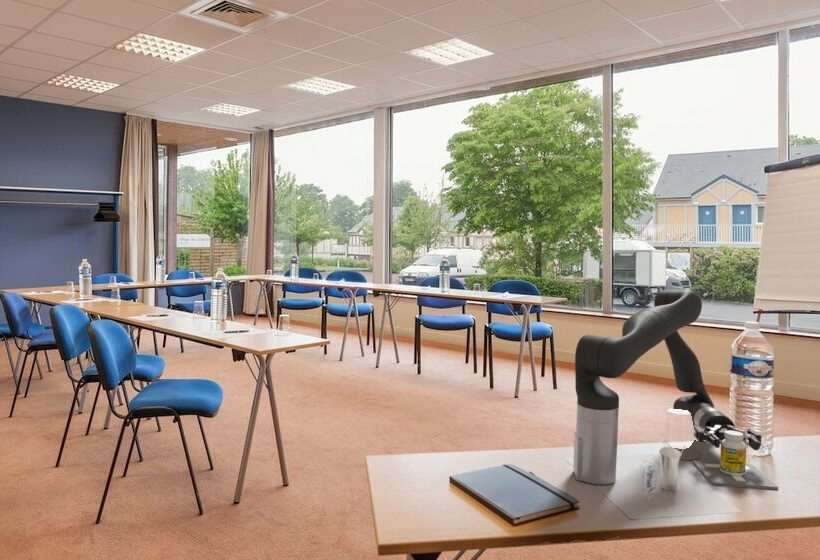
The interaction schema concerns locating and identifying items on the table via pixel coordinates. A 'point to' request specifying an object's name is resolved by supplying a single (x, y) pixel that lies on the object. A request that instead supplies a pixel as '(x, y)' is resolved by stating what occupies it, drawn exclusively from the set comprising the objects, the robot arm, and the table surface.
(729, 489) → the table surface
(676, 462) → the milkshake
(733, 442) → the supplement bottle
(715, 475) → the letter board
